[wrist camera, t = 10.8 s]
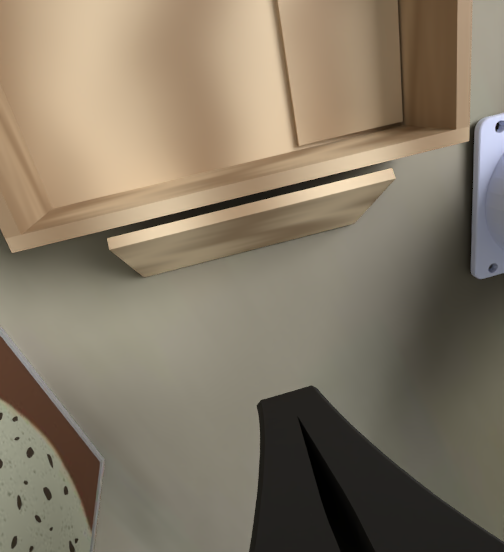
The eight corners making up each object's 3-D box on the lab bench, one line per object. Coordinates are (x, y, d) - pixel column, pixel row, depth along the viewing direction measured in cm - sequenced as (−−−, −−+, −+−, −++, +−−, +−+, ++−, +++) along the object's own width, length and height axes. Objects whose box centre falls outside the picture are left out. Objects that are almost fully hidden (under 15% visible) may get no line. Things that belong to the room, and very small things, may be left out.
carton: (394, -253, 13) (491, -412, 9) (411, 207, 19) (472, 232, 15) (-122, -173, 12) (-276, -319, 8) (78, 292, 18) (51, 344, 14)
